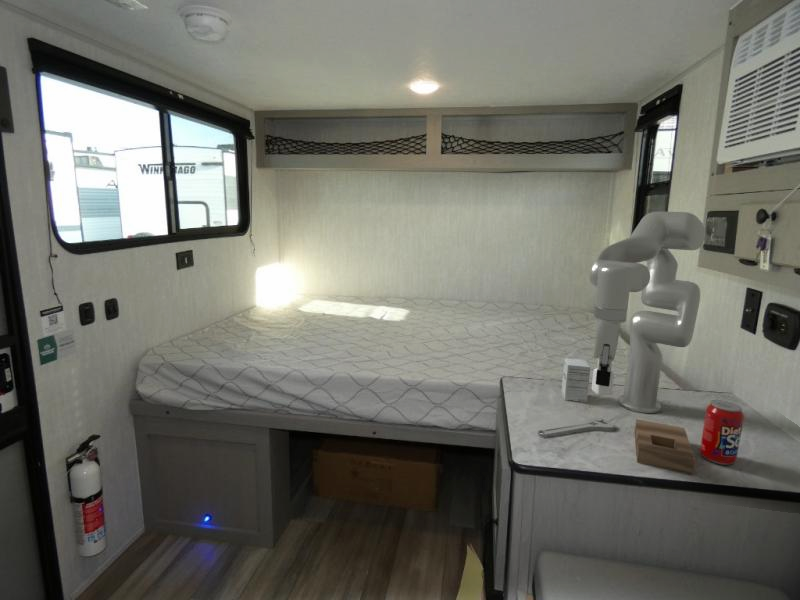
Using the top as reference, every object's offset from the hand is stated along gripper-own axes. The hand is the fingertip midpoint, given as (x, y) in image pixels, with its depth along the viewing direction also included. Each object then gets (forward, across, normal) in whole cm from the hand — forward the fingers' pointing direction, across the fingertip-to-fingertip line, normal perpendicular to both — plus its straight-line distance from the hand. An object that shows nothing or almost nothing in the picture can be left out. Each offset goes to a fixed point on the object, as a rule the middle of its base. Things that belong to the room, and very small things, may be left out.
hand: (602, 380), depth 120 cm
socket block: (+19, -6, +16) cm, 25 cm away
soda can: (+19, -8, +29) cm, 36 cm away
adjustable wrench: (+20, -8, -6) cm, 22 cm away
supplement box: (+20, -33, -9) cm, 39 cm away
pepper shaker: (+4, 0, 0) cm, 4 cm away
